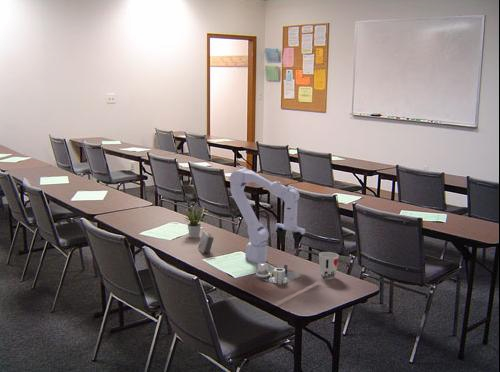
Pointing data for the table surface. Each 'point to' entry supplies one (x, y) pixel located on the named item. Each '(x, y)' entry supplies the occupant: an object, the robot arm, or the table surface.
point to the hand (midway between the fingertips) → (289, 246)
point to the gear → (279, 276)
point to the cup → (328, 264)
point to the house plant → (194, 222)
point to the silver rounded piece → (262, 270)
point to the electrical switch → (205, 242)
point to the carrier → (288, 275)
